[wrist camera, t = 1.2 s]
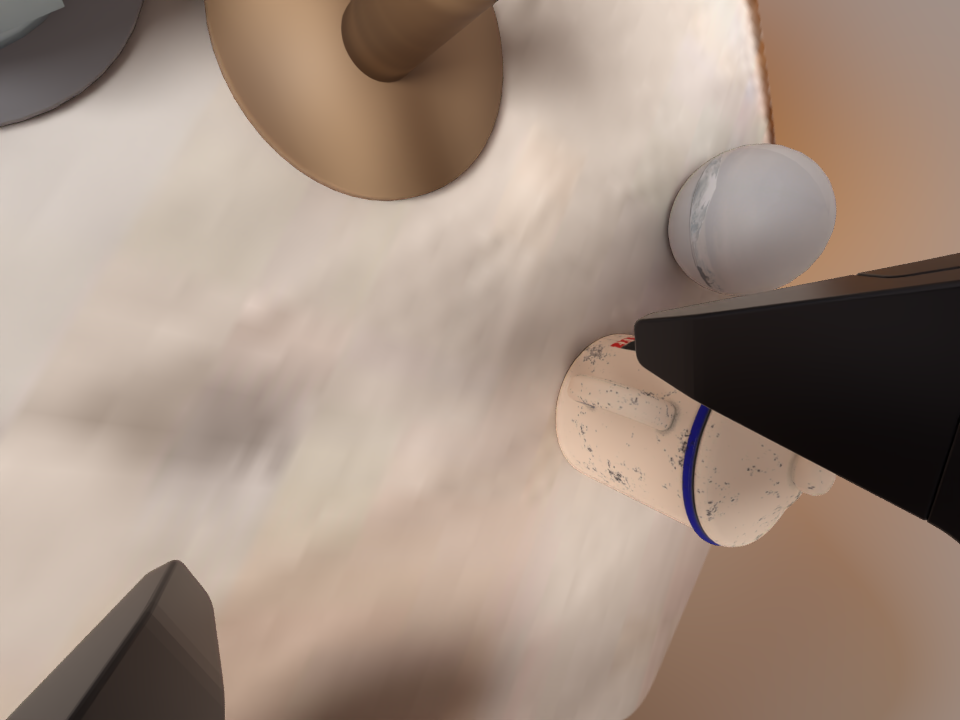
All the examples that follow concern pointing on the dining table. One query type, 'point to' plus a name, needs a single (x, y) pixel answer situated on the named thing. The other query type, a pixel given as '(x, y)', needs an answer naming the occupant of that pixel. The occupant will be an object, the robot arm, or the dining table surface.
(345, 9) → the lid
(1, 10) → the bowl
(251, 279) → the dining table surface
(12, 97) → the trivet
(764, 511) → the teacup with lid
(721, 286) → the bath bomb
